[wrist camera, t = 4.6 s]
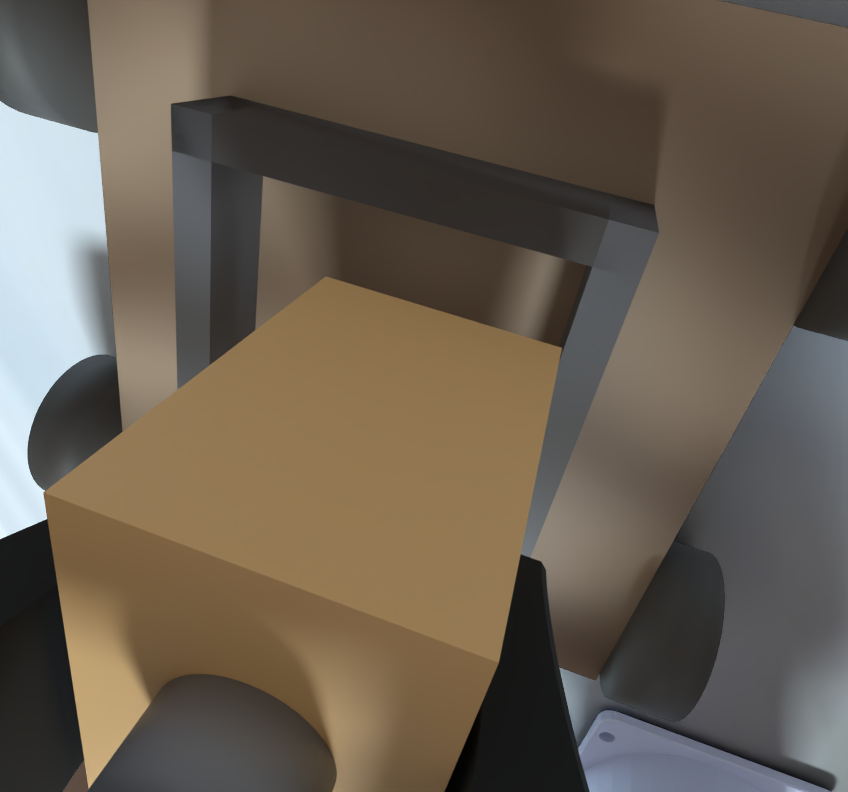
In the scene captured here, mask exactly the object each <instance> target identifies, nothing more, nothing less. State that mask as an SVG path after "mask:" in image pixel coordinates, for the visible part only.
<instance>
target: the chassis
mask: <svg viewBox="0 0 848 792" xmlns="http://www.w3.org/2000/svg"><path fill="white" fill-rule="evenodd" d="M0 101H1V102H3V103H4V104H6V105H7V106H9V107H11V108H13V109H15V110H17V111H19V112H22V113H26V114H29V115H32V116H36V117H40V118H43V119H47V120H50V121H54V122H58V123H61V124H65V125H69V126H72V127H76V128H79V129H83V130H87V131H90V132H95V133H98V137H99V149H100V162H101V174H102V186H103V198H104V211H105V223H106V235H107V247H108V260H109V272H110V284H111V296H112V309H113V321H114V333H115V345H116V357H114V356H110V355H95V356H91V357H88V358H86V359H84V360H82V361H80V362H78V363H76V364H75V365H74V366H72V367H71V368H70V369H68V370H67V371H66V372H65V373H64V374H63V375H62V376H61V377H60V378H59V379H58V380H57V381H56V382H55V384H54V385H53V386H52V387H51V389H50V390H49V392H48V393H47V395H46V396H45V398H44V399H43V401H42V403H41V405H40V407H39V409H38V411H37V413H36V416H35V418H34V421H33V424H32V427H31V431H30V435H29V441H28V464H29V469H30V472H31V475H32V477H33V479H34V480H35V482H36V483H37V485H38V486H40V487H41V488H42V489H43V490H45V491H46V490H47V489H49V488H50V487H51V486H53V485H54V484H55V483H56V482H58V481H59V480H60V479H62V478H63V477H64V476H66V475H67V474H68V473H70V472H71V471H72V470H73V469H75V468H76V467H77V466H79V465H80V464H81V463H83V462H84V461H85V460H87V459H88V458H89V457H90V456H92V455H93V454H94V453H96V452H97V451H98V450H100V449H101V448H102V447H104V446H105V445H106V444H107V443H109V442H110V441H111V440H113V439H114V438H115V437H117V436H118V435H119V434H121V433H122V432H123V431H124V430H126V429H127V428H128V427H130V426H131V425H132V424H134V423H135V422H136V421H138V420H139V419H140V418H141V417H143V416H144V415H145V414H147V413H148V412H149V411H151V410H152V409H153V408H155V407H156V406H157V405H158V404H160V403H161V402H162V401H164V400H165V399H166V398H168V397H169V396H170V395H171V394H173V393H174V392H175V391H177V390H178V389H179V388H181V387H182V386H183V385H185V384H186V383H187V382H188V381H190V380H191V379H192V378H194V377H195V376H196V375H198V374H199V373H200V372H202V371H203V370H204V369H205V368H207V367H208V366H209V365H211V364H212V363H213V362H215V361H216V360H217V359H219V358H220V357H221V356H222V355H224V354H225V353H226V352H228V351H229V350H230V349H232V348H233V347H234V346H236V345H237V344H238V343H239V342H241V341H242V340H243V339H245V338H246V337H247V336H249V335H250V334H251V333H253V332H254V331H255V330H256V329H258V328H259V327H260V326H262V325H263V324H264V323H266V322H267V321H268V320H270V319H271V318H272V317H273V316H275V315H276V314H277V313H279V312H280V311H281V310H283V309H284V308H285V307H287V306H288V305H289V304H290V303H292V302H293V301H294V300H296V299H297V298H298V297H300V296H301V295H302V294H303V293H305V292H306V291H307V290H309V289H310V288H311V287H313V286H314V285H315V284H317V283H318V282H319V281H320V280H322V279H323V278H324V277H329V278H333V279H336V280H339V281H343V282H346V283H349V284H353V285H356V286H359V287H362V288H366V289H369V290H372V291H376V292H379V293H382V294H386V295H389V296H392V297H395V298H399V299H402V300H405V301H409V302H412V303H415V304H419V305H422V306H425V307H429V308H432V309H435V310H438V311H442V312H445V313H448V314H452V315H455V316H458V317H462V318H465V319H468V320H471V321H475V322H478V323H481V324H485V325H488V326H491V327H495V328H498V329H501V330H505V331H508V332H511V333H514V334H518V335H521V336H524V337H528V338H531V339H534V340H538V341H541V342H544V343H547V344H551V345H554V346H557V347H561V348H562V350H561V355H560V360H559V365H558V370H557V375H556V380H555V385H554V390H553V395H552V400H551V405H550V410H549V415H548V420H547V425H546V430H545V435H544V440H543V445H542V450H541V455H540V460H539V465H538V470H537V475H536V480H535V485H534V490H533V495H532V500H531V505H530V510H529V515H528V520H527V525H526V530H525V535H524V540H523V545H522V550H521V555H524V556H527V557H530V558H533V559H536V560H539V561H541V562H542V564H543V565H544V567H545V569H546V579H547V591H548V601H549V610H550V617H551V624H552V630H553V636H554V642H555V648H556V654H557V659H558V664H559V667H560V668H563V669H565V670H568V671H571V672H574V673H576V674H579V675H582V676H585V677H587V678H590V679H593V680H596V679H597V677H598V675H599V673H600V684H601V688H602V691H603V694H604V695H605V697H607V698H609V699H611V700H614V701H617V702H619V703H622V704H625V705H628V706H630V707H633V708H636V709H638V710H641V711H644V712H647V713H649V714H652V715H655V716H657V717H660V718H663V719H666V720H668V721H671V722H676V721H680V720H681V719H683V718H685V717H686V716H687V715H688V714H689V713H690V712H691V711H692V709H693V708H694V707H695V705H696V704H697V702H698V701H699V699H700V697H701V695H702V693H703V691H704V689H705V687H706V685H707V683H708V680H709V678H710V675H711V672H712V669H713V666H714V663H715V660H716V656H717V652H718V648H719V644H720V639H721V633H722V627H723V619H724V606H725V593H724V581H723V575H722V571H721V568H720V565H719V563H718V561H717V559H716V558H715V557H714V556H713V555H712V554H710V553H708V552H705V551H702V550H699V549H696V548H693V547H690V546H687V545H684V544H681V543H678V542H675V541H674V539H675V537H676V535H677V533H678V532H679V530H680V528H681V526H682V525H683V523H684V521H685V519H686V517H687V516H688V514H689V512H690V510H691V508H692V507H693V505H694V503H695V501H696V499H697V498H698V496H699V494H700V492H701V490H702V489H703V487H704V485H705V483H706V481H707V480H708V478H709V476H710V474H711V472H712V471H713V469H714V467H715V465H716V464H717V462H718V460H719V458H720V456H721V455H722V453H723V451H724V449H725V447H726V446H727V444H728V442H729V440H730V438H731V437H732V435H733V433H734V431H735V429H736V428H737V426H738V424H739V422H740V420H741V419H742V417H743V415H744V413H745V412H746V410H747V408H748V406H749V404H750V403H751V401H752V399H753V397H754V395H755V394H756V392H757V390H758V388H759V386H760V385H761V383H762V381H763V379H764V377H765V376H766V374H767V372H768V370H769V368H770V367H771V365H772V363H773V361H774V359H775V358H776V356H777V354H778V352H779V351H780V349H781V347H782V345H783V343H784V342H785V340H786V338H787V336H788V334H789V333H790V331H791V329H792V327H793V325H794V326H796V327H799V328H802V329H806V330H810V331H813V332H817V333H820V334H824V335H828V336H831V337H835V338H838V339H842V340H846V341H848V28H847V27H842V26H837V25H833V24H828V23H823V22H818V21H814V20H809V19H804V18H800V17H795V16H790V15H785V14H781V13H776V12H771V11H767V10H762V9H757V8H752V7H748V6H743V5H738V4H734V3H729V2H724V1H719V0H0Z"/></svg>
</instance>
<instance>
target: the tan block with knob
mask: <svg viewBox="0 0 848 792" xmlns="http://www.w3.org/2000/svg"><path fill="white" fill-rule="evenodd" d="M561 350H562V348H561V347H557V346H554V345H551V344H547V343H544V342H541V341H538V340H534V339H531V338H528V337H524V336H521V335H518V334H514V333H511V332H508V331H505V330H501V329H498V328H495V327H491V326H488V325H485V324H481V323H478V322H475V321H471V320H468V319H465V318H462V317H458V316H455V315H452V314H448V313H445V312H442V311H438V310H435V309H432V308H429V307H425V306H422V305H419V304H415V303H412V302H409V301H405V300H402V299H399V298H395V297H392V296H389V295H386V294H382V293H379V292H376V291H372V290H369V289H366V288H362V287H359V286H356V285H353V284H349V283H346V282H343V281H339V280H336V279H333V278H329V277H324V278H323V279H322V280H320V281H319V282H318V283H317V284H315V285H314V286H313V287H311V288H310V289H309V290H307V291H306V292H305V293H303V294H302V295H301V296H300V297H298V298H297V299H296V300H294V301H293V302H292V303H290V304H289V305H288V306H287V307H285V308H284V309H283V310H281V311H280V312H279V313H277V314H276V315H275V316H273V317H272V318H271V319H270V320H268V321H267V322H266V323H264V324H263V325H262V326H260V327H259V328H258V329H256V330H255V331H254V332H253V333H251V334H250V335H249V336H247V337H246V338H245V339H243V340H242V341H241V342H239V343H238V344H237V345H236V346H234V347H233V348H232V349H230V350H229V351H228V352H226V353H225V354H224V355H222V356H221V357H220V358H219V359H217V360H216V361H215V362H213V363H212V364H211V365H209V366H208V367H207V368H205V369H204V370H203V371H202V372H200V373H199V374H198V375H196V376H195V377H194V378H192V379H191V380H190V381H188V382H187V383H186V384H185V385H183V386H182V387H181V388H179V389H178V390H177V391H175V392H174V393H173V394H171V395H170V396H169V397H168V398H166V399H165V400H164V401H162V402H161V403H160V404H158V405H157V406H156V407H155V408H153V409H152V410H151V411H149V412H148V413H147V414H145V415H144V416H143V417H141V418H140V419H139V420H138V421H136V422H135V423H134V424H132V425H131V426H130V427H128V428H127V429H126V430H124V431H123V432H122V433H121V434H119V435H118V436H117V437H115V438H114V439H113V440H111V441H110V442H109V443H107V444H106V445H105V446H104V447H102V448H101V449H100V450H98V451H97V452H96V453H94V454H93V455H92V456H90V457H89V458H88V459H87V460H85V461H84V462H83V463H81V464H80V465H79V466H77V467H76V468H75V469H73V470H72V471H71V472H70V473H68V474H67V475H66V476H64V477H63V478H62V479H60V480H59V481H58V482H56V483H55V484H54V485H53V486H51V487H50V488H49V489H47V490H46V491H45V492H43V493H44V500H45V506H46V513H47V519H48V526H49V532H50V539H51V545H52V552H53V558H54V565H55V571H56V578H57V584H58V591H59V597H60V604H61V610H62V617H63V623H64V630H65V637H66V643H67V650H68V656H69V663H70V669H71V676H72V682H73V689H74V695H75V702H76V708H77V715H78V721H79V728H80V734H81V741H82V747H83V754H84V760H85V766H86V774H87V780H88V787H89V790H88V792H445V789H446V787H447V784H448V782H449V780H450V777H451V775H452V773H453V770H454V768H455V765H456V763H457V761H458V758H459V756H460V754H461V751H462V749H463V746H464V744H465V742H466V739H467V737H468V735H469V732H470V730H471V728H472V725H473V723H474V720H475V718H476V716H477V713H478V711H479V709H480V706H481V704H482V701H483V699H484V697H485V694H486V692H487V690H488V687H489V685H490V683H491V680H492V678H493V675H494V673H495V671H496V668H497V666H498V664H499V659H500V654H501V649H502V644H503V639H504V634H505V629H506V625H507V620H508V615H509V610H510V605H511V600H512V595H513V590H514V585H515V580H516V575H517V570H518V565H519V560H520V555H521V550H522V545H523V540H524V535H525V530H526V525H527V520H528V515H529V510H530V505H531V500H532V495H533V490H534V485H535V480H536V475H537V470H538V465H539V460H540V455H541V450H542V445H543V440H544V435H545V430H546V425H547V420H548V415H549V410H550V405H551V400H552V395H553V390H554V385H555V380H556V375H557V370H558V365H559V360H560V355H561Z"/></svg>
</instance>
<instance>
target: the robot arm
mask: <svg viewBox="0 0 848 792" xmlns="http://www.w3.org/2000/svg"><path fill="white" fill-rule="evenodd" d="M83 761H84V754H83V747H82V741H81V734H80V728H79V721H78V715H77V708H76V702H75V695H74V689H73V682H72V676H71V669H70V663H69V656H68V650H67V643H66V637H65V630H64V623H63V617H62V610H61V604H60V597H59V591H58V584H57V578H56V571H55V565H54V558H53V552H52V545H51V539H50V532H49V526H48V519H46V520H44V521H42V522H39V523H37V524H35V525H32V526H30V527H28V528H25V529H23V530H21V531H18V532H16V533H14V534H11V535H9V536H7V537H4V538H2V539H0V792H62V791H63V789H64V788H65V787H66V785H67V784H68V782H69V781H70V779H71V778H72V776H73V775H74V773H75V772H76V770H77V769H78V767H79V766H80V765H81V763H82V762H83ZM445 792H830V791H828V790H826V789H824V788H821V787H819V786H816V785H813V784H811V783H808V782H805V781H803V780H800V779H797V778H794V777H792V776H789V775H786V774H784V773H781V772H778V771H776V770H773V769H770V768H767V767H765V766H762V765H759V764H757V763H754V762H751V761H749V760H746V759H743V758H740V757H738V756H735V755H732V754H730V753H727V752H724V751H722V750H719V749H716V748H714V747H711V746H708V745H705V744H703V743H700V742H697V741H695V740H692V739H689V738H687V737H684V736H681V735H678V734H676V733H673V732H670V731H668V730H665V729H662V728H660V727H657V726H654V725H651V724H649V723H646V722H643V721H641V720H638V719H635V718H633V717H630V716H627V715H625V714H622V713H619V712H616V711H612V710H606V711H603V712H601V713H599V714H598V716H597V717H596V719H595V721H594V722H593V724H592V726H591V728H590V729H589V731H588V733H587V734H586V736H585V738H584V739H583V741H582V743H581V744H580V746H579V748H578V747H577V743H576V740H575V736H574V732H573V728H572V724H571V719H570V715H569V710H568V706H567V701H566V697H565V692H564V688H563V683H562V679H561V674H560V669H559V664H558V659H557V654H556V648H555V642H554V636H553V630H552V624H551V617H550V610H549V601H548V591H547V579H546V569H545V567H544V565H543V564H542V562H541V561H539V560H536V559H533V558H530V557H527V556H524V555H520V560H519V565H518V570H517V575H516V580H515V585H514V590H513V595H512V600H511V605H510V610H509V615H508V620H507V625H506V629H505V634H504V639H503V644H502V649H501V654H500V659H499V664H498V666H497V668H496V671H495V673H494V675H493V678H492V680H491V683H490V685H489V687H488V690H487V692H486V694H485V697H484V699H483V701H482V704H481V706H480V709H479V711H478V713H477V716H476V718H475V720H474V723H473V725H472V728H471V730H470V732H469V735H468V737H467V739H466V742H465V744H464V746H463V749H462V751H461V754H460V756H459V758H458V761H457V763H456V765H455V768H454V770H453V773H452V775H451V777H450V780H449V782H448V784H447V787H446V789H445Z"/></svg>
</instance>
